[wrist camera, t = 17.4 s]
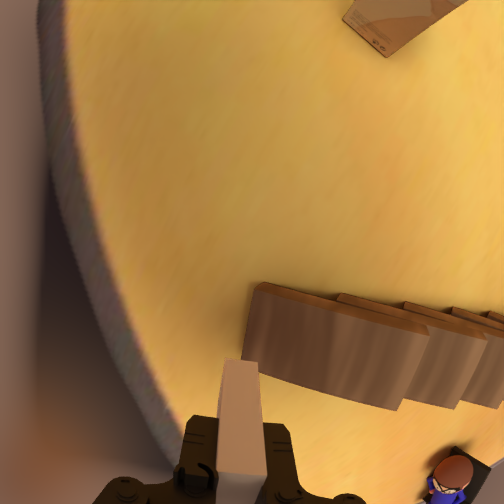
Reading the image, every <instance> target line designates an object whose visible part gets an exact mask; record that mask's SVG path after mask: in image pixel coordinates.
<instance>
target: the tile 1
mask: <svg viewBox="0 0 504 504" xmlns="http://www.w3.org/2000/svg"><path fill="white" fill-rule="evenodd" d="M429 338H430V334H429V332H428V329H427V326H426V325H424V324H420V323H416V322H412V321H408V320H404V319H400V318H396V317H392V316H388V315H384V314H380V313H376V312H372V311H369V310H365V309H361V308H357V307H353V306H350V305H346V304H342V303H338V302H335V301H331V300H327V299H324V298H320V297H316V296H313V295H309V294H305V293H302V292H298V291H294V290H291V289H287V288H284V287H280V286H276V285H273V284H269V283H266V282H263V283H262V284H260V285H259V286H258V287H256V288H255V289H254V292H253V297H252V303H251V308H250V313H249V319H248V324H247V330H246V335H245V340H244V346H243V351H242V356H241V360H244V361H252V362H258V372H260V373H263V374H265V375H268V376H271V377H274V378H277V379H280V380H283V381H286V382H289V383H293V384H296V385H299V386H302V387H305V388H309V389H312V390H315V391H319V392H322V393H326V394H329V395H333V396H336V397H340V398H344V399H347V400H351V401H355V402H359V403H363V404H367V405H371V406H375V407H380V408H384V409H388V410H393V411H397V409H398V407H399V405H400V403H401V401H402V399H403V397H404V395H405V393H406V391H407V389H408V387H409V385H410V383H411V381H412V379H413V376H414V374H415V372H416V370H417V367H418V365H419V363H420V360H421V358H422V356H423V353H424V351H425V349H426V346H427V344H428V341H429Z"/></svg>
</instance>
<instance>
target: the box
mask: <svg viewBox="0 0 504 504" xmlns="http://www.w3.org/2000/svg"><path fill="white" fill-rule="evenodd" d="M467 1H468V0H355V2H354V3H353V4H352V6H351V7H350V9H349V10H348V12H347V13H346V14H345V16H344V17H343V20H344V21H345V22H346V23H347V24H349V25H350V26H351V27H352V28H353V29H354V30H356V31H357V32H358V33H359V34H360V35H361V36H363V37H364V38H365V39H366V40H367V41H368V42H369V43H370V44H372V45H373V46H374V47H375V48H376V49H377V50H378V51H380V52H381V53H382V54H383V55H384V56H385V57H389V56H390V55H392V54H393V53H394V52H396V51H397V50H398V49H400V48H401V47H402V46H404V45H405V44H406V43H408V42H409V41H410V40H412V39H413V38H415V37H416V36H417V35H419V34H420V33H421V32H423V31H424V30H426V29H427V28H428V27H430V26H431V25H433V24H434V23H435V22H437V21H438V20H440V19H441V18H443V17H444V16H445V15H447V14H448V13H450V12H451V11H453V10H454V9H456V8H457V7H459V6H460V5H462V4H463V3H465V2H467Z"/></svg>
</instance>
